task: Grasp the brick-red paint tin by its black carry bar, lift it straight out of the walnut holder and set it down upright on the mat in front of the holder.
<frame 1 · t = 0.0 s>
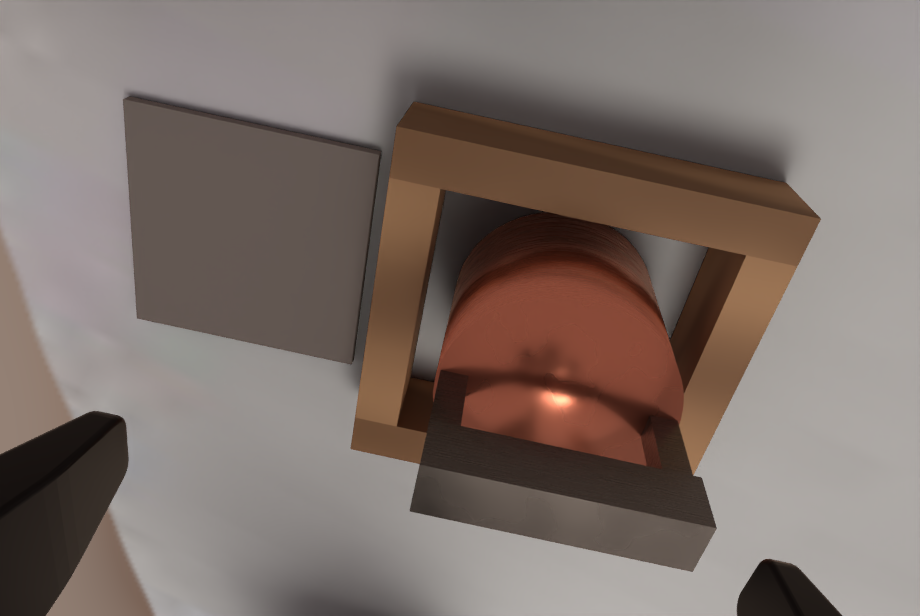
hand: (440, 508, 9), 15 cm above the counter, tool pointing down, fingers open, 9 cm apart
mat: (251, 239, 24), on the counter
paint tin: (554, 387, 20), in the holder
holder: (551, 304, 24), on the counter
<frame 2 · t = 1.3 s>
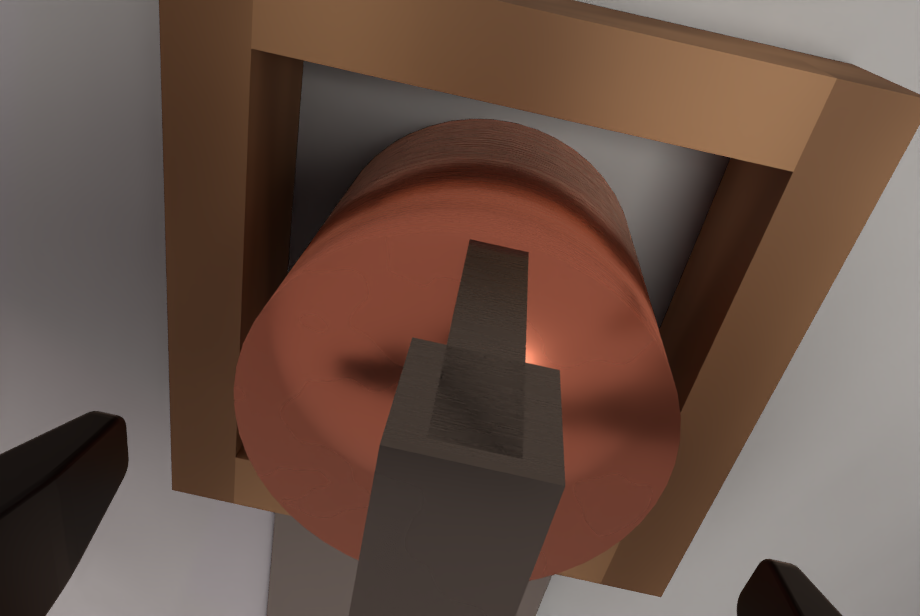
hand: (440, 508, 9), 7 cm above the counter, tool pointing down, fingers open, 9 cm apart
mat: (406, 574, 21), on the counter
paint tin: (456, 402, 11), in the holder
holder: (479, 270, 16), on the counter
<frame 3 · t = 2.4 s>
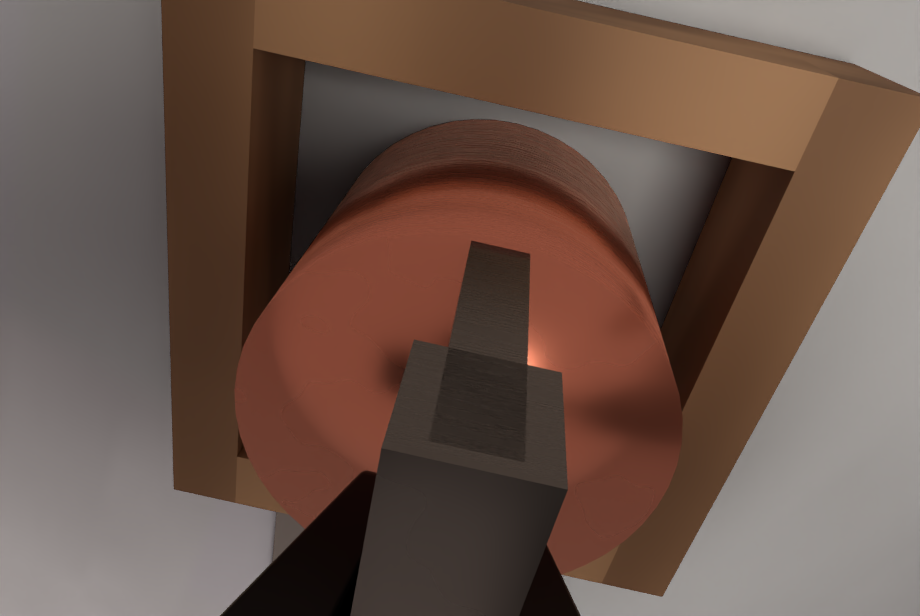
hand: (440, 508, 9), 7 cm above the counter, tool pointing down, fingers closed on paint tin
mat: (407, 573, 21), on the counter
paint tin: (458, 403, 11), in the holder, touching gripper
holder: (480, 269, 16), on the counter
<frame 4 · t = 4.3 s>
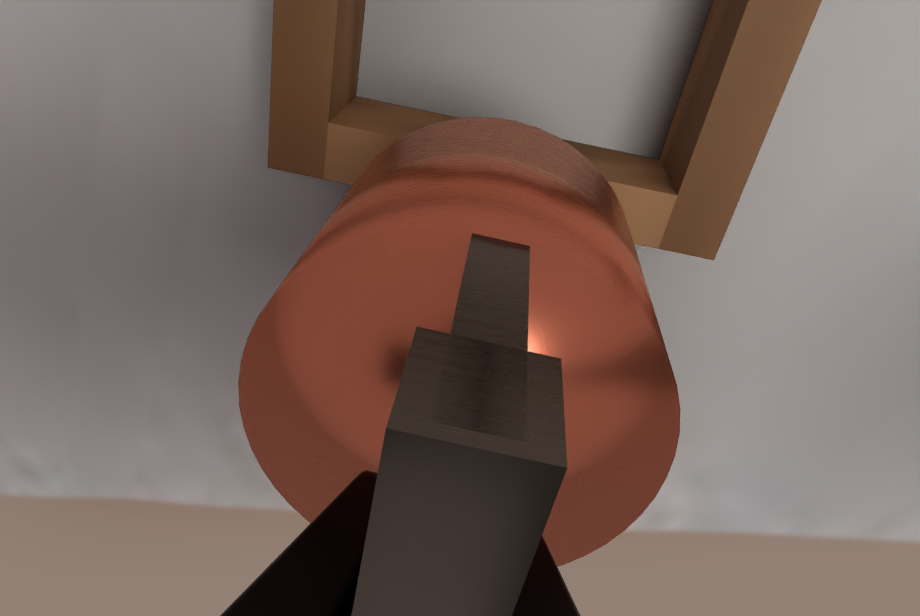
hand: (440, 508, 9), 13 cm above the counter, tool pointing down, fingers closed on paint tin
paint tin: (459, 396, 12), point 10 cm above the counter, touching gripper
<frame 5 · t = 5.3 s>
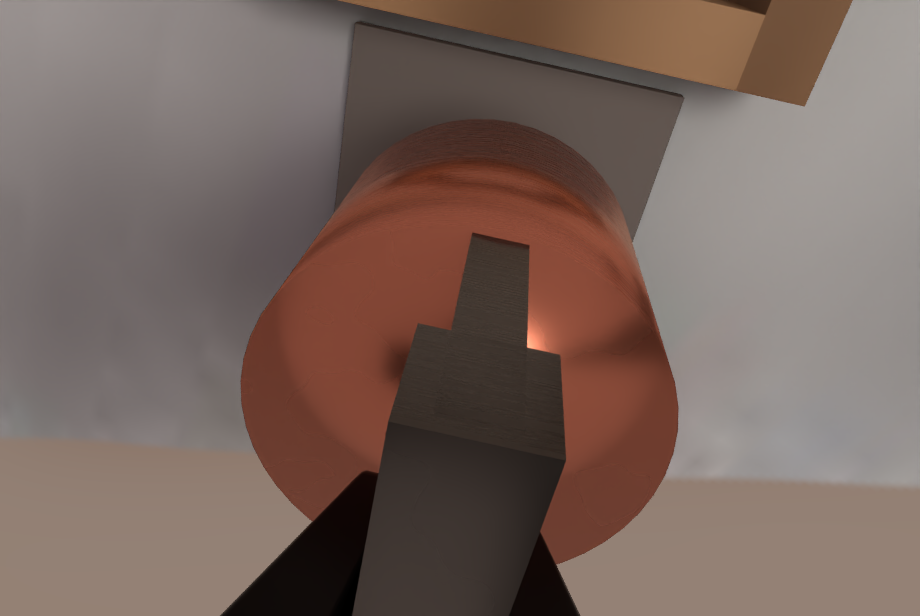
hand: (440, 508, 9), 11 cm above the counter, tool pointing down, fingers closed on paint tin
mat: (485, 209, 19), on the counter
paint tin: (459, 394, 12), point 9 cm above the counter, touching gripper
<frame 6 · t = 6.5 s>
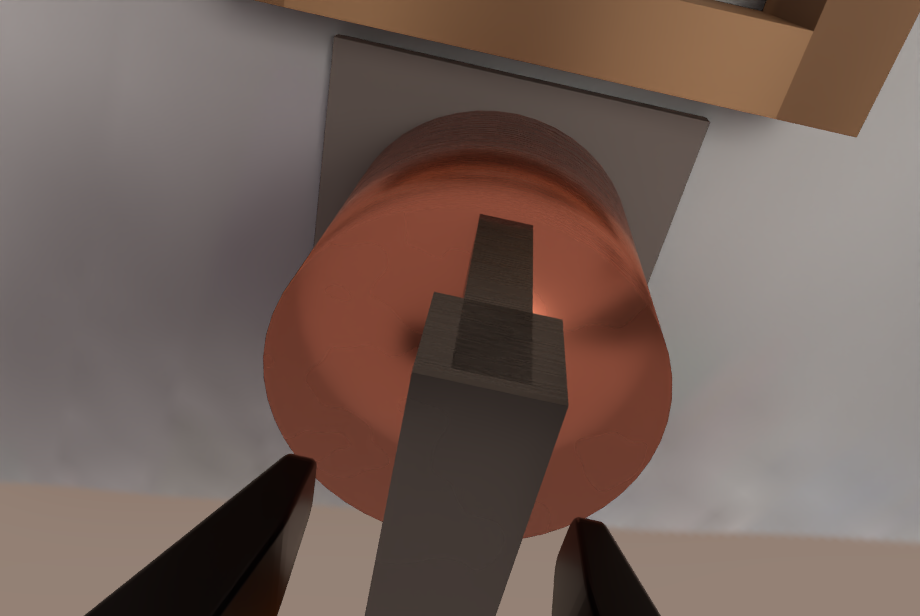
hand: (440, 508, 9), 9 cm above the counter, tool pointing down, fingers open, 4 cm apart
mat: (483, 243, 17), on the counter
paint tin: (467, 369, 12), on the mat
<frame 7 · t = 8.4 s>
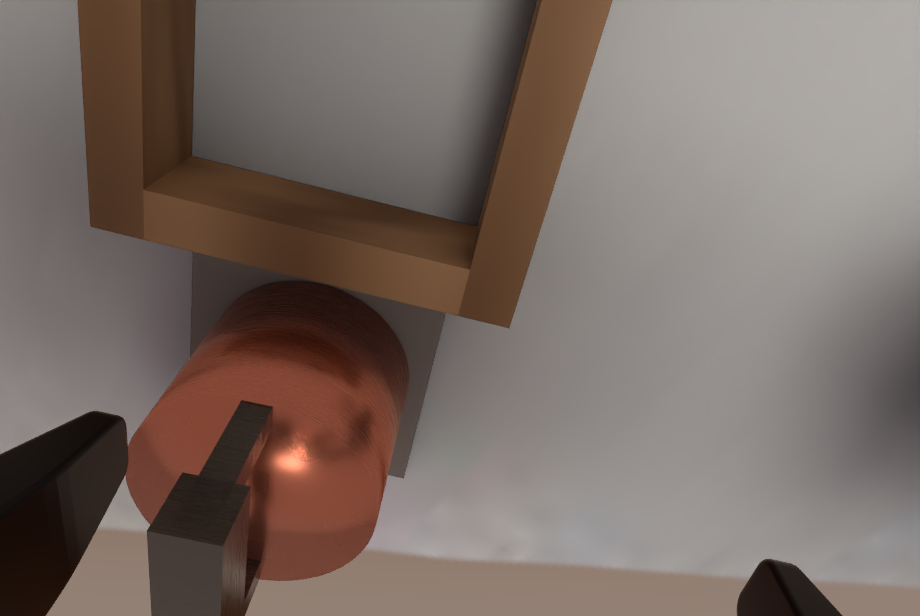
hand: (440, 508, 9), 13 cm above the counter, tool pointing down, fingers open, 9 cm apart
mat: (311, 359, 24), on the counter
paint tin: (262, 473, 19), on the mat
holder: (356, 40, 19), on the counter
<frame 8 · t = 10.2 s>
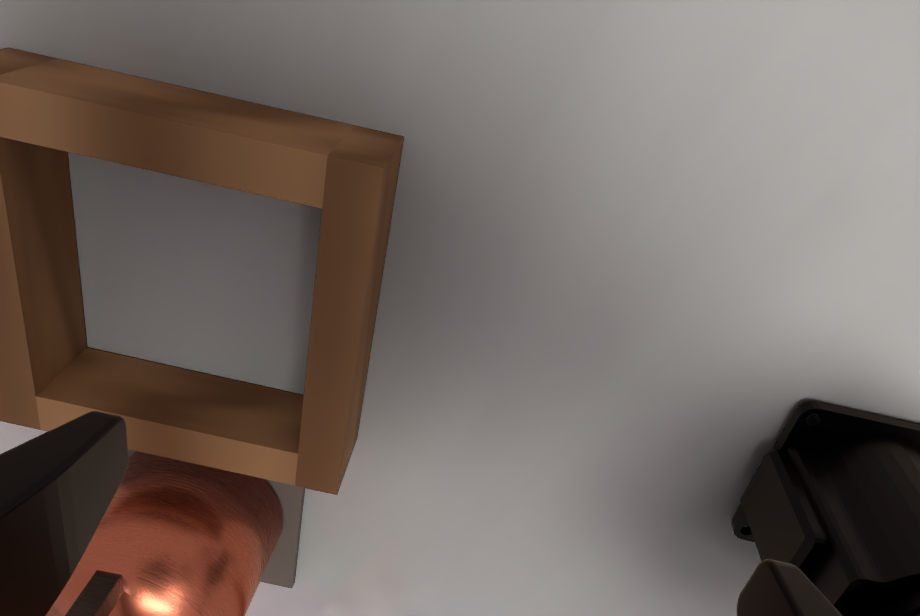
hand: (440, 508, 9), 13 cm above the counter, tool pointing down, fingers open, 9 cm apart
mat: (204, 495, 29), on the counter
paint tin: (136, 613, 24), on the mat
holder: (205, 268, 23), on the counter
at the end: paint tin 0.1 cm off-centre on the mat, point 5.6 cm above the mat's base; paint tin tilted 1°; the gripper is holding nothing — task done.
